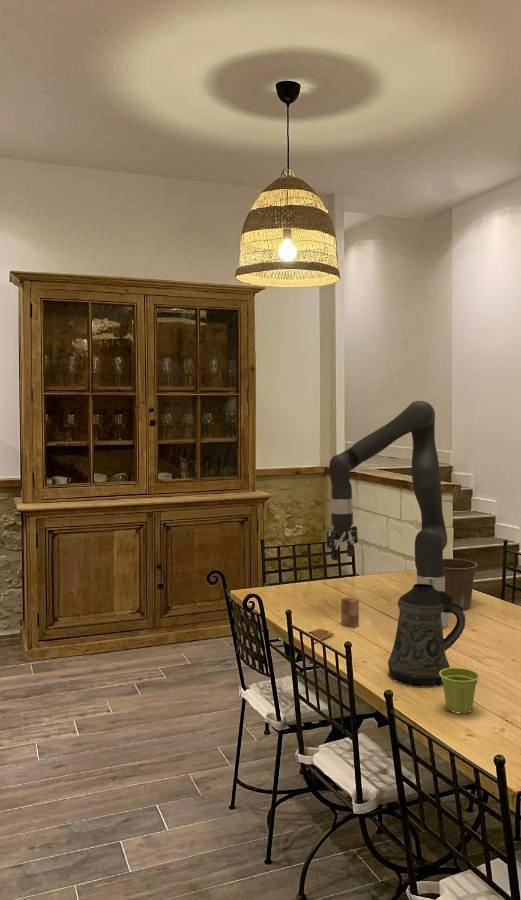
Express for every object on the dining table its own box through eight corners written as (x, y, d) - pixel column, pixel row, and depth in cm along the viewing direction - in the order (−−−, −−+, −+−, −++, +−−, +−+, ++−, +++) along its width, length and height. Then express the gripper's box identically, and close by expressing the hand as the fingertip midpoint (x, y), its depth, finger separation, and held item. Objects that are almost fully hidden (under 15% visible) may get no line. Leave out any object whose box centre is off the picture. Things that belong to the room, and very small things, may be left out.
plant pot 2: (436, 714, 175) (436, 678, 175) (441, 699, 184) (441, 665, 184) (477, 719, 172) (477, 683, 172) (480, 704, 181) (480, 669, 180)
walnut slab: (358, 626, 246) (358, 599, 246) (353, 628, 244) (353, 601, 243) (346, 623, 249) (346, 597, 249) (341, 625, 247) (341, 599, 247)
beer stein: (376, 670, 205) (376, 581, 203) (435, 661, 212) (435, 575, 210) (409, 691, 189) (410, 595, 188) (471, 680, 196) (472, 588, 195)
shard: (314, 645, 228) (314, 640, 228) (295, 640, 233) (295, 635, 233) (335, 637, 236) (335, 632, 236) (316, 632, 241) (316, 627, 241)
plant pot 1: (475, 614, 260) (476, 569, 259) (428, 610, 265) (429, 566, 264) (477, 602, 275) (478, 560, 274) (433, 599, 280) (433, 557, 279)
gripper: (337, 514, 246) (338, 562, 247) (363, 510, 257) (363, 556, 257) (320, 513, 252) (321, 560, 252) (346, 508, 262) (346, 553, 263)
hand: (342, 558), depth 255 cm, fingers open, 8 cm apart
